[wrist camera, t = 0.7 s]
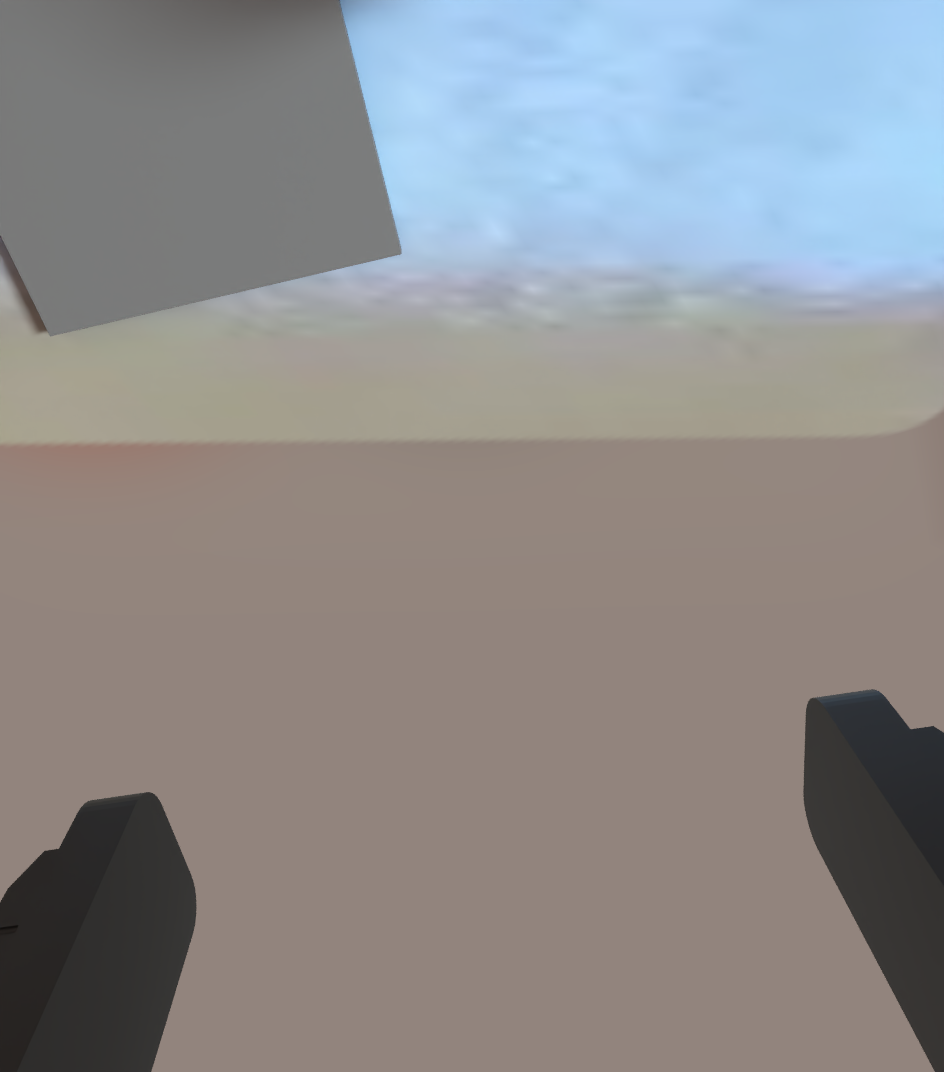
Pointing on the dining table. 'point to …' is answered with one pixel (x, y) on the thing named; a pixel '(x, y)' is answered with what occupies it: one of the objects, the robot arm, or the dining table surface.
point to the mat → (181, 152)
